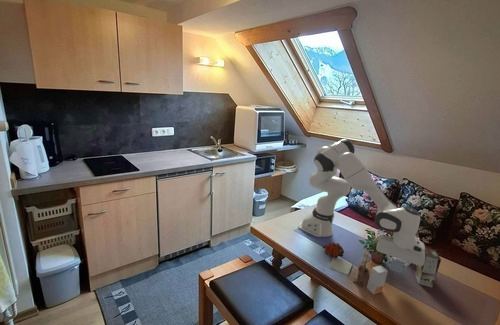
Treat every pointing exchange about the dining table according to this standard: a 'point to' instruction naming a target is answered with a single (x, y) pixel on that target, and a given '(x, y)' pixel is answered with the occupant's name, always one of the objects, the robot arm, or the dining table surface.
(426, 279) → the coffee box
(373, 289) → the skincare box
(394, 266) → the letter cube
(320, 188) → the robot arm
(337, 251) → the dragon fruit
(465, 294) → the dining table surface
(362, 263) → the brown flat upright piece
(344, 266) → the coaster
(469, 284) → the dining table surface
